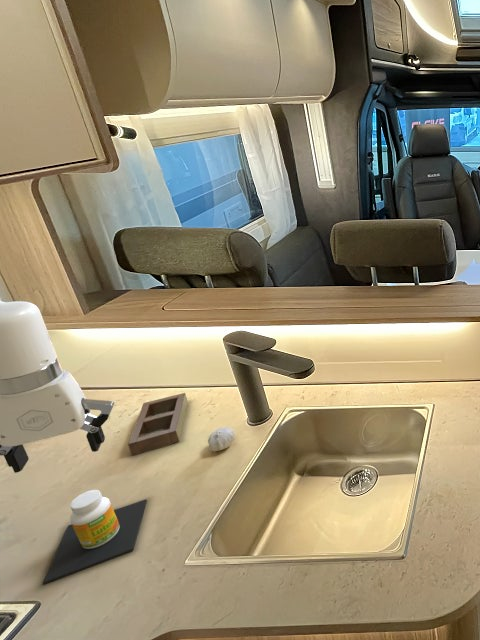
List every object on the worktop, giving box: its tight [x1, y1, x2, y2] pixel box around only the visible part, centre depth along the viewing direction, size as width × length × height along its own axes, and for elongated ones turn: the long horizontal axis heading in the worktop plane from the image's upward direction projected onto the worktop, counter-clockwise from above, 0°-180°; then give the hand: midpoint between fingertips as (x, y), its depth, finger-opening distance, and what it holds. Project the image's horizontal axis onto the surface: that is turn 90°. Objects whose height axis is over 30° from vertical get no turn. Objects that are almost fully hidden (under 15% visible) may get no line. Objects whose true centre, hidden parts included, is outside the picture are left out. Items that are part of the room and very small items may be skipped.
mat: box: [42, 498, 148, 585], centre depth 79 cm, size 12×12×1 cm
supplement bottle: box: [69, 489, 120, 549], centre depth 78 cm, size 5×5×10 cm
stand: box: [128, 392, 189, 456], centre depth 106 cm, size 9×16×4 cm, turn 30°
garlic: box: [207, 426, 236, 452], centre depth 101 cm, size 6×5×5 cm
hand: (61, 456), depth 73 cm, fingers open, 9 cm apart
